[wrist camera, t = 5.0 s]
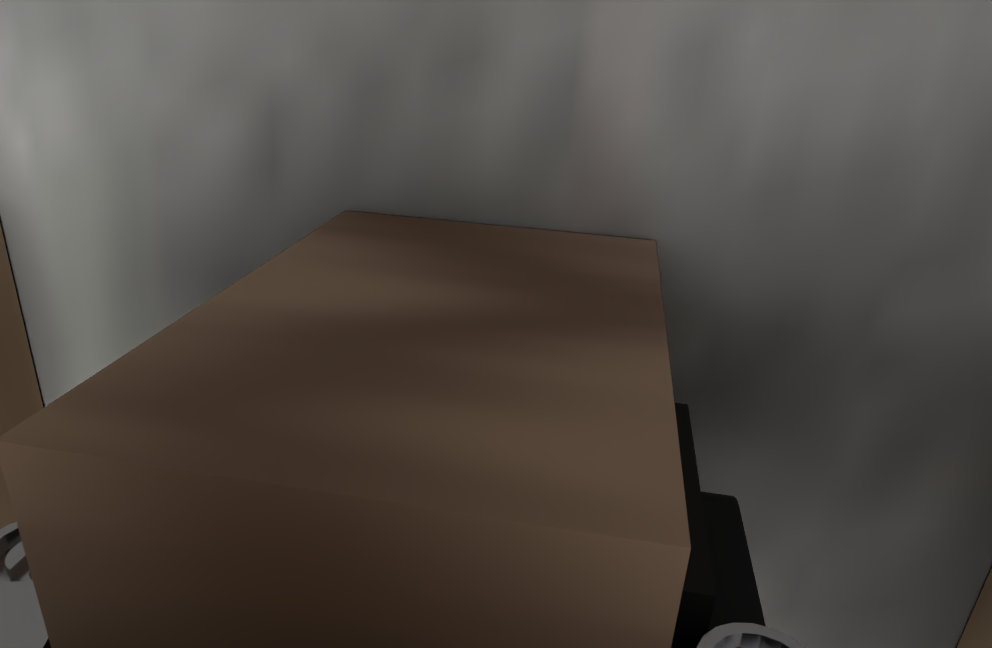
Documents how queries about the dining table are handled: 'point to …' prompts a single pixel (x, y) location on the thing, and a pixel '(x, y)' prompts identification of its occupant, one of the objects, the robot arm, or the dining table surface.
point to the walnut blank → (374, 454)
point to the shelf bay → (15, 397)
